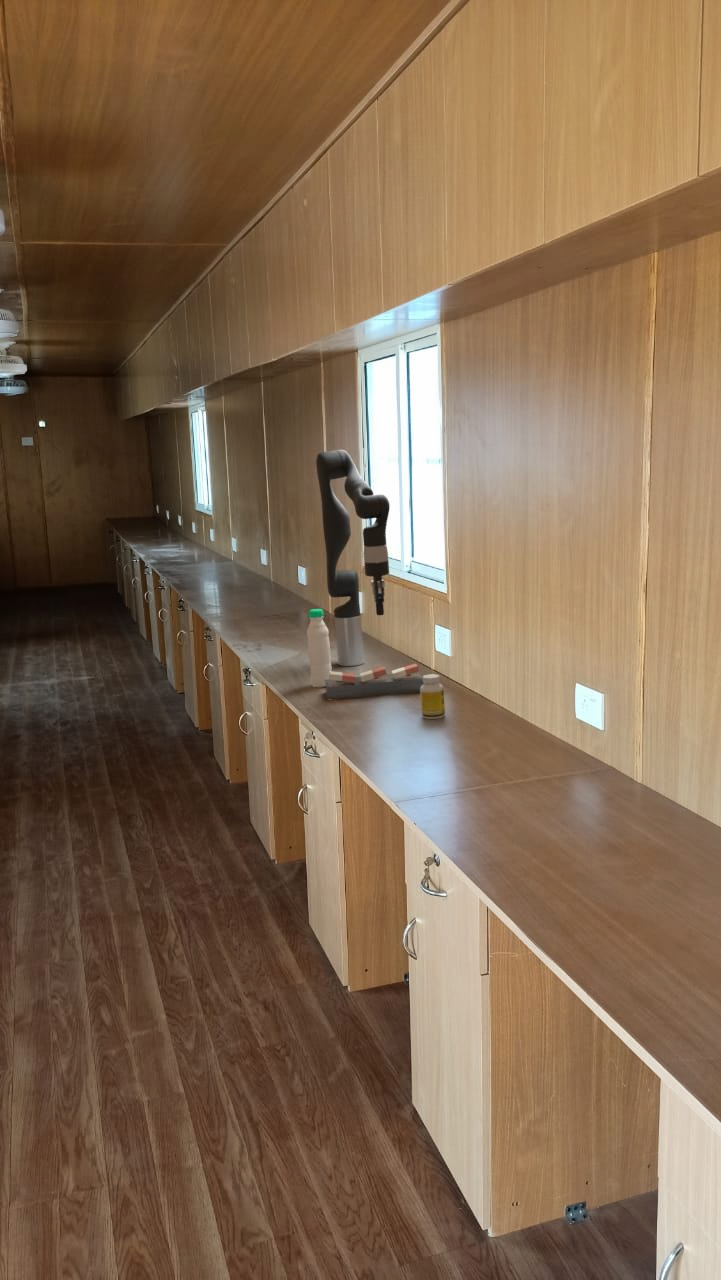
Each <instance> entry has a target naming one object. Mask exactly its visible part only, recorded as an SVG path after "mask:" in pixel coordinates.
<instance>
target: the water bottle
mask: <svg viewBox="0 0 721 1280" xmlns="http://www.w3.org/2000/svg"><path fill="white" fill-rule="evenodd" d="M308 616H309V617H308V618H309V619H310V623H309V624H308V627H307V629H306V630H307V631H306V636H307V649H308V659H309V664H310V665H309V672H310V684H311V686H312V687H313V686H315V687H314V688H326V687H325V686H326V684H325V680H328V679H329V671H333V669H332V663H331V660H332V659H331V646H330V645H331V644H330V638H329V628H328V627H327V625H326V623H325V621H324V620H323V618H324V610H323V609H322V608H313V609H310V610H309V611H308Z"/></svg>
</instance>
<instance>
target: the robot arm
mask: <svg viewBox="0 0 721 1280" xmlns="http://www.w3.org/2000/svg"><path fill="white" fill-rule="evenodd" d="M315 461H316V474H317V478H318V479H317V480H318V485H319V491H320V500H321V511H322V512H321V513H322V527H323V536H324V537H323V538H324V545H325V553H326V554H325V555H326V556H325V557H326V582H327V583H326V584H327V585H326V586H327V591H328V594H329V595H328V596H330V598H344V597H345V598H347V597H349V599H348V601H346V602H345V603H343V604H341V605H339V606H337V607H335V608H334V609H333V615H334V617H333V618H334V629H335V641H336V642H335V643H336V652H337V663H338V664H339V665H338V666H340V665H341V667H353V666H354V667H355V666H360V665H363V664H364V663H365V658H364V657H365V656H364V642H363V632H362V631H363V629H362V617H361V607H360V586H359V585H360V584H359V583H360V580H359V575H358V572H357V571H356V570H355V569H345V570H336V569H337V565H338V561H339V559H340V556H341V555H342V553H343V551H344V549H345V548H346V547H347V544H348V542H349V540H350V538H351V534H352V532H351V531H352V530H351V518H350V515H349V512H348V511H347V509H346V508H345V506H344V505H343V504H342V503H341V501H340V500H339V499H338V498H337V496H336V494H335V492H334V490H333V488H332V481H331V480H336V479H337V480H338V479H342V478H345V477H346V478H345V480H344V492H345V493H346V495H347V497H348V498H349V499H350V501H352V503H353V505H354V509H355V514H356V516H357V517H358V518H360V519H363V520H369V519H375V520H374V523H373V524H371V525H369V526H366V527H364V528H363V530H362V539H363V560H364V561H363V563H364V576H366V577H369V578H370V577H372V578H373V580H371V583H370V584H371V587H372V595H373V599H374V603H375V611H376V615H377V616H384V615H385V612H384V602H385V594H386V593H385V586H386V584H385V580H384V579H383V577H384V576H388V575H389V574H390V564H389V551H388V546H387V537H386V535H387V534H386V532H387V531H386V530H387V526H388V525H387V523H388V518H389V514H390V507H391V506H390V501H389V499H388V497H387V496H386V495H384V494H374V491H373V489H372V487H371V486H369V484H368V483H367V482H366V481H365V480H364V479H363V478H362V476H361V474H360V472H359V470H358V468H357V466H356V465H355V462H354V461H353V459H352V457H351V455H350V454H349V453H348V452H347V450H344V449H336V450H335V449H334V450H331V451H330V450H329V451H323V452H319V453H318V454H317V456H316V460H315Z"/></svg>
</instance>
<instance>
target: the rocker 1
mask: <svg viewBox="0 0 721 1280" xmlns="http://www.w3.org/2000/svg"><path fill="white" fill-rule="evenodd" d="M355 677H356V673H349V672H341V671H333V670H332V671H329V680H336V681H345V682H353V683H355Z"/></svg>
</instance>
